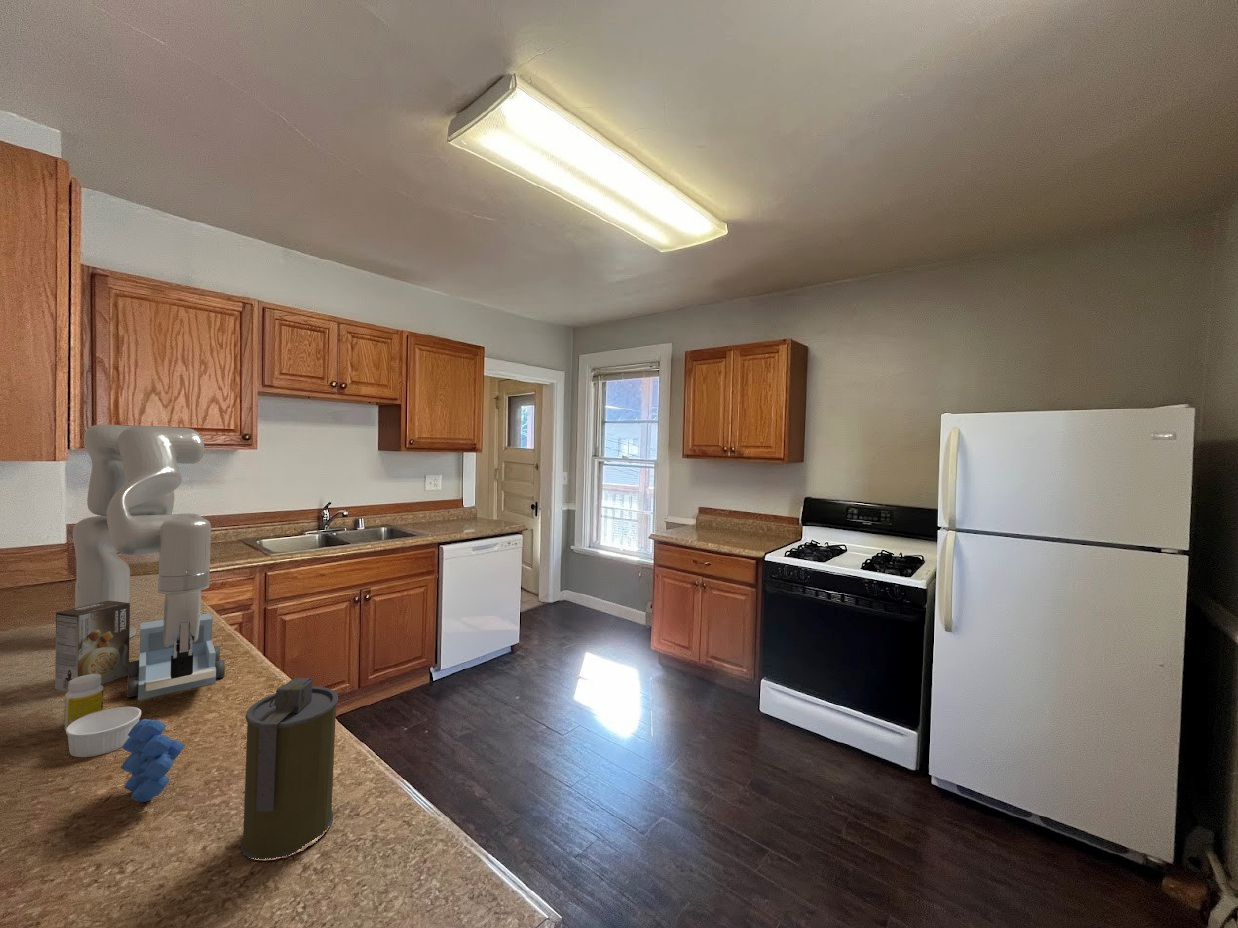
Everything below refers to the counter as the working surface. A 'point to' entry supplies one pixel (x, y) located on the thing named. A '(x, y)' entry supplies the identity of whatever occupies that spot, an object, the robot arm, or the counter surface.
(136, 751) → the grapes
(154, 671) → the pale blue toy cart
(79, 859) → the counter surface
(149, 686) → the panel
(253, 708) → the canister
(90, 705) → the supplement bottle
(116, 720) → the ramekin
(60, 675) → the coffee box
